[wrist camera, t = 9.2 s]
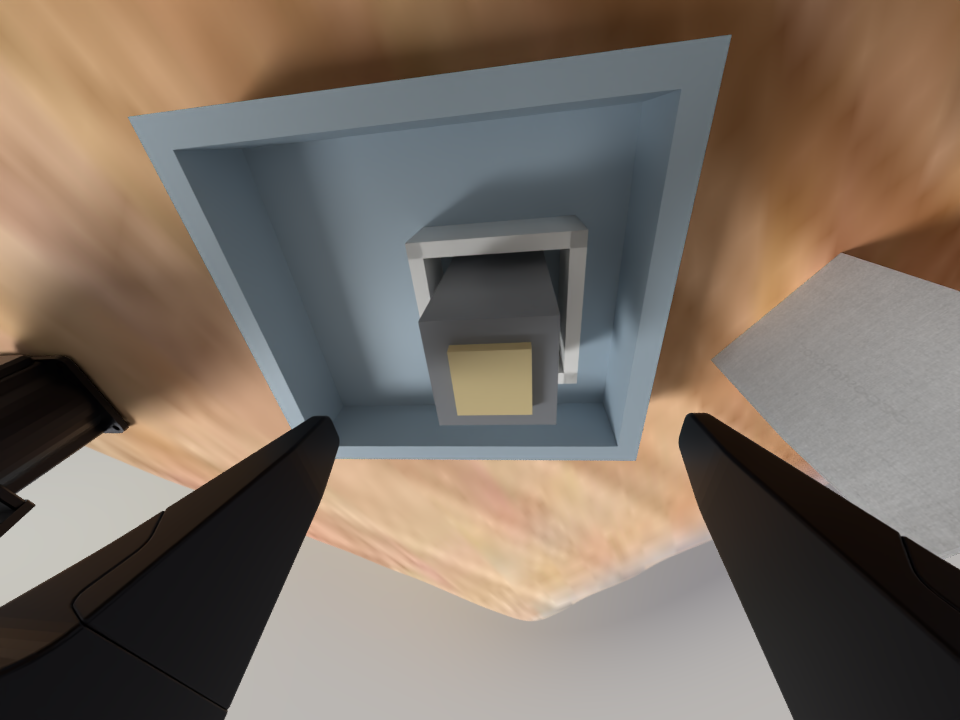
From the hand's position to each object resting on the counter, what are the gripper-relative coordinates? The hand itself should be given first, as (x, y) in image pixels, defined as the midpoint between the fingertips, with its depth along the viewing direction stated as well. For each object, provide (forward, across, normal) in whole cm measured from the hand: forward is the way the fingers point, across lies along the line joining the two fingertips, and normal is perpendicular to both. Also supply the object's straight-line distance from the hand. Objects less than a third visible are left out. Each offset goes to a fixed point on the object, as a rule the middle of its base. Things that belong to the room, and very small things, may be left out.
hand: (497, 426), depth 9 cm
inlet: (+10, 0, 0) cm, 10 cm away
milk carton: (+10, -14, +3) cm, 18 cm away
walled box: (+10, +3, 0) cm, 10 cm away
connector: (+9, 0, 0) cm, 9 cm away
